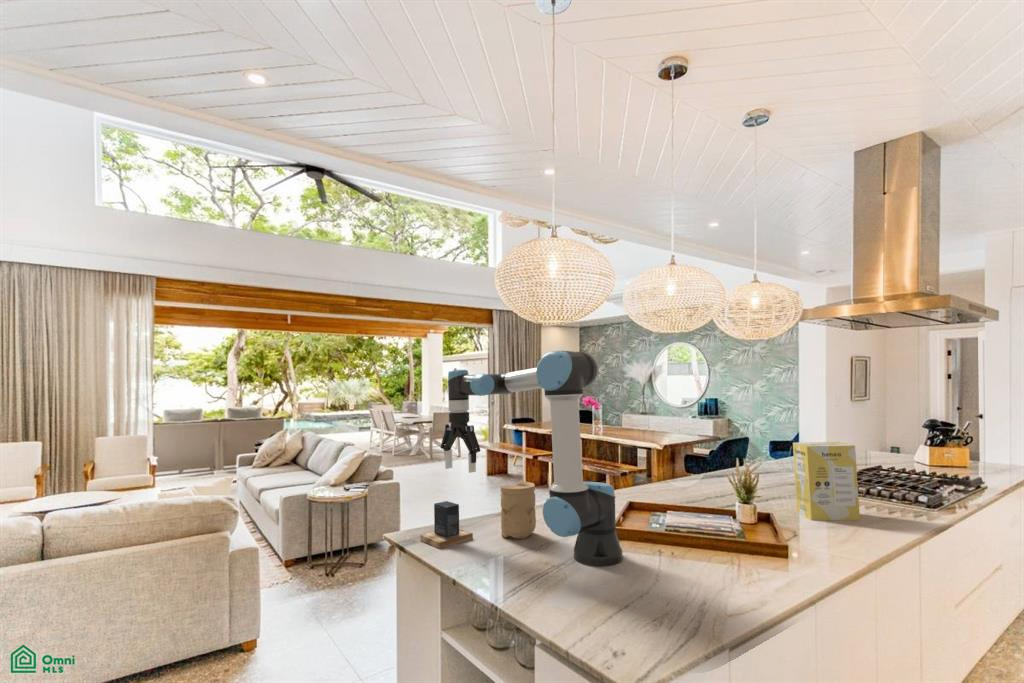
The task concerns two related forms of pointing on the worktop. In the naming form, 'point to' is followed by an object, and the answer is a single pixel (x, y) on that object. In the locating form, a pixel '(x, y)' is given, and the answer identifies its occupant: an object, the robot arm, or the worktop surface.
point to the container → (518, 510)
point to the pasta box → (826, 481)
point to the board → (445, 539)
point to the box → (446, 519)
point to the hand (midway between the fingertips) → (460, 470)
